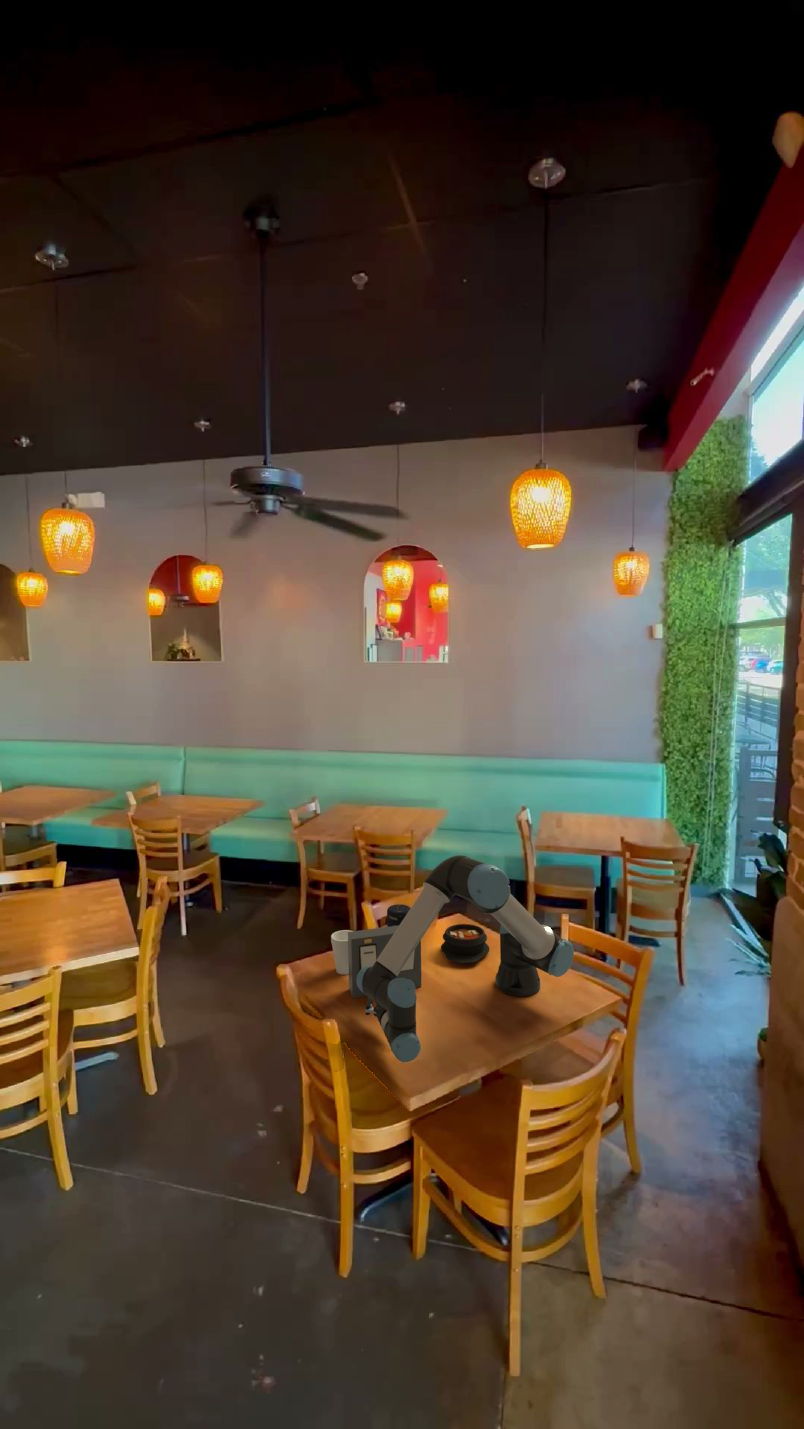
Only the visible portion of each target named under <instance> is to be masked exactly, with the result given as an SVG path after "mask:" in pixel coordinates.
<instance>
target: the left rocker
mask: <svg viewBox="0 0 804 1429" xmlns="http://www.w3.org/2000/svg"><path fill="white" fill-rule="evenodd" d="M360 958H361V969H363V968H364V967H365V966H368V965H370V966H373V965H374V963H375V962H376V946H375V945H368V946H360Z"/></svg>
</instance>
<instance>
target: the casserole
mask: <svg viewBox="0 0 804 1429" xmlns="http://www.w3.org/2000/svg"><path fill="white" fill-rule="evenodd" d="M442 939H443V940H444V941H443V943H442V944H441V946H440V951H441V952H442V953H443V954H444V956H445V958H446V959H447V960H448V961H450V962H453V963H459V964H472V963H477V962H479V960H481V958H483V957H484V956H486V955H487V954H488V953H490V950H491V949H490V946H489V945H488V944H487V943H486V941H488V936H487V934H486V933H485V930H484V929H483V928H482V927H480V926H478V925H475V924H470V923H469V924H467V923H458V924H452V925H450V926H448V927H447V928H446V929H445V931H444V933H442Z"/></svg>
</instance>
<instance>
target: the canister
mask: <svg viewBox="0 0 804 1429" xmlns="http://www.w3.org/2000/svg"><path fill="white" fill-rule="evenodd" d="M410 909H411V907H410V906H409V905H406V904H401V903H399V904H398V903H396V904H393V905H390V906H389V907H388V908H387V910H386V922H387V923H386V924H387V926H386V927H391V926H399V925H400V924H401V922H402V921H403V919H404V918H405V916H406V915H407V913H408V912H409V910H410Z"/></svg>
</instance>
